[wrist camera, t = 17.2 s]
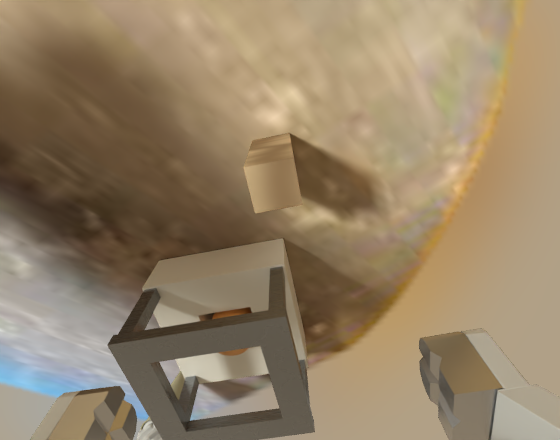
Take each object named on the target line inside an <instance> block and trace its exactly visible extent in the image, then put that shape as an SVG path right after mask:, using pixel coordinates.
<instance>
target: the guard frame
mask: <svg viewBox="0 0 560 440" xmlns="http://www.w3.org/2000/svg"><path fill="white" fill-rule="evenodd" d="M160 298H161V297H160V295H159V293H158V290H157V288H153V289H147V290H144V292H143V293H142V295H141V297H140V299H139V300H138V302H137V304H136V305H135V307H134V309H133V310H132V312H131V314H130V315H129V317H128V319H127V320H126V322H125V324H124V325H123V327H122V329H121V330H120V332H119V334H118V335H113V337H112V338H111V340H110V342H109V343H108V347H109V349H110V351H111V352H112V354H113V356H114V357H115V359H116V361H117V363H118V364H119V366H120V368H121V369H122V371H123V373H124V374H125V376H126V378H127V380H128V381H129V383H130V385H131V386H132V388H133V390H134V392H135V393H136V395H137V397H138V398H139V400H140V402H141V404H142V405H143V407H144V409H145V410H146V412H147V414H148V415H149V417H150V419H151V421H152V422H153V424H154V426H155V427H156V429H157V431H158V433H159V434H160V436H161V438H162V439H163V440H259V439H266V438H274V437H282V436H289V435H297V434H305V433H312V432H315V429H314V420H313V416H312V412H311V409H310V402H309V391H308V381H307V370H306V364H305V360H299V359H298V355H297V351H296V347H295V343H294V339H293V335H292V331H291V327H290V323H289V319H288V315H287V311H286V292H285V275H284V270H283V266H280V267H274V268H270V280H269V307H268V310H266V311H260V312H254V313H248V314H241V315H235V316H229V317H223V318H217V319H211V320H205V321H198V322H192V323H186V324H180V325H174V326H168V327H162V328H155V329H149V330H145V328H146V326H147V324H148V322H149V320H150V318H151V316H152V314H153V312H154V310H155V308H156V306H157V304H158V302H159V300H160ZM257 346H261V350H262V353H263V356H264V359H265V363H266V366H267V369H268V372H269V376H270V379H271V382H272V385H273V388H274V392H275V395H276V398H277V401H278V405H279V409H272V410H265V411H258V412H251V413H244V414H236V415H229V416H222V417H214V418H207V419H200V420H193V421H190V417H191V413H192V409H193V405H194V401H195V397H196V393H197V389H198V385H199V382H198V379H197V377H196V376H190V377H186V378H185V381H184V384H183V388H182V391H181V394H180V398H179V400H178V399H177V397H176V395H175V393H174V391H173V389H172V387H171V385H170V383H169V381H168V379H167V377H166V375H165V373H164V371H163V369H162V367H161V365H160V363H159V362H160V361H167V360H173V359H180V358H186V357H193V356H199V355H206V354H212V353H219V352H225V351H232V350H238V349H245V348H251V347H257Z"/></svg>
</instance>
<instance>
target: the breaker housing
mask: <svg viewBox="0 0 560 440" xmlns="http://www.w3.org/2000/svg"><path fill="white" fill-rule="evenodd" d="M280 266H283V270H284V275H285V292H286V311H287V315H288V319H289V323H290V327H291V331H292V335H293V339H294V343H295V347H296V351H297V355H298V359H299V360H305V364H306V368H308V361H307V351H306V341H305V333H304V328H303V324H302V320H301V315H300V311H299V306H298V302H297V297H296V293H295V288H294V284H293V279H292V275H291V270H290V266H289V261H288V257H287V252H286V248H285V244H284V239H283V238H282V239H276V240H270V241H265V242H259V243H254V244H248V245H243V246H237V247H232V248H226V249H220V250H215V251H209V252H204V253H198V254H193V255H187V256H182V257H176V258H170V259H165V260H159V261H158V263H157V265H156V266H155V268H154V270H153V271H152V273H151V274H150V276H149V278H148V279H147V281H146V283H145V284H144V286H143V288H142V290H143V292H144V290H147V289H153V288H157V290H158V293H159V295H160V297H161V298H160V300H159V302H158V304H157V306H156V308H155V310H154V312H153V313H154V315H155V317H156V320H157V322H158V324H159V326H160V328H162V327H168V326H174V325H180V324H186V323H192V322H198V321H205V320H211V319H212V318H213V314H214V313H216V312H222V311H229V310H235V309H241V308H247V307H250V308H251V311H252V313H254V312H260V311H266V310H268V307H269V280H270V268H274V267H280ZM175 360H176V362H177V364H178V366H179V368H180V370H181V372H182V374H183V376H184V379H185V378H186V377H190V376H196V377H197V379H198V382H199V384H203V383H209V382H216V381H223V380H230V379H236V378H243V377H250V376H257V375H264V374H269V372H268V369H267V366H266V363H265V359H264V356H263V353H262V350H261V346H257V347H251V348H248V349H247V350H246V351H245V352H243V353H241V354H239V355H234V356H227V355H222V354H220V353H212V354H206V355H199V356H193V357H186V358H180V359H175Z"/></svg>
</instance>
